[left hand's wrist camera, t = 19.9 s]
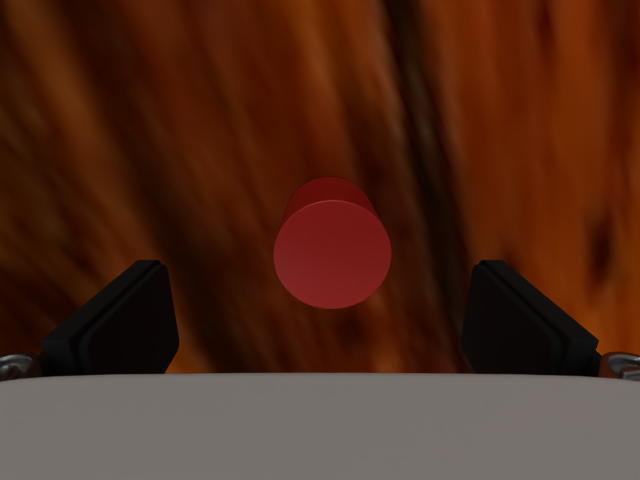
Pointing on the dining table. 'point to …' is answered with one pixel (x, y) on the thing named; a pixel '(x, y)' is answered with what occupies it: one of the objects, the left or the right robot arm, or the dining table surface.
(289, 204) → the can
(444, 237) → the dining table surface
